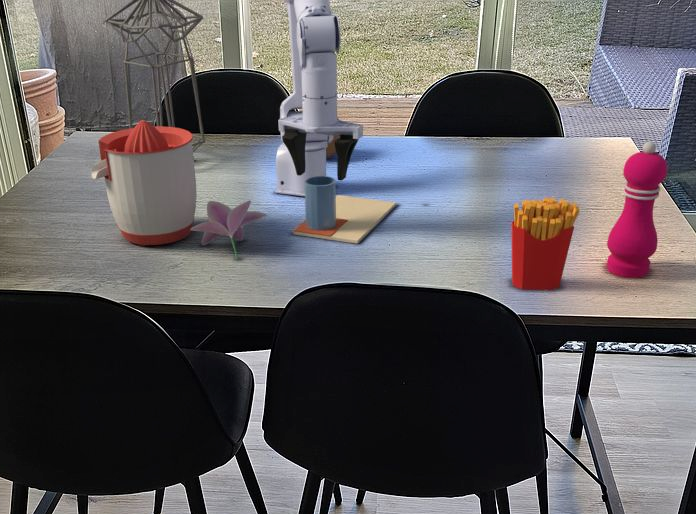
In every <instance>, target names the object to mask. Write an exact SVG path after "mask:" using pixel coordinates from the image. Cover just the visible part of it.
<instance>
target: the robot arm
mask: <svg viewBox="0 0 696 514" xmlns="http://www.w3.org/2000/svg"><path fill="white" fill-rule="evenodd" d="M284 3H285V6H286V9H287V10H286V11H287V14H288V32H289V44H290V45H289V46H290V48H289V49H290V61H291V77H292V78H291V80H292V93H291V94H290V95H289V96H287V97H286V98H285V99H284V100H283V101H282V102H281V104H280V107H279V119H278V131H279V132H280V140H281V144H280V145H279V146H278V148H277V151H276V155H275V177H276V189H275V190H274V191H275V193H276V194H283V195H290V196H296V197H297V196H298V197H305V180H306V179H307V178H310V177H315V176H327V159H326V148H327V147H328V144H327V143H331V141H332V140H333V136H340V138H339V139H337V140H336V141H334V144H335V149H336V154H335V155H336V165H337V167H336V177H337V181H340V182H342V181H343V180H345V179H346V178H347V173H348V168H349V164H350V161H351V159H352V155H353V153H354V150H355V148H356V145H358V142H359V140H360V139H362V138H363V137H364V124H361V123H354V122H349V121H345V120H341V119H339V120H337V118H338V58H337V57H338V56H337V54H339V53H340V48H341V42H342V41H341V39H342V38H341V37H342V35H341V33H342V32H341V25H340V20H339V16H338V14H336V12H333V11H332V8H331V4H330V0H284ZM335 52H336V53H337V54H336V53H335ZM291 110H293V111H291ZM294 110H295V111H294ZM296 110H297V111H296Z"/></svg>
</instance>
